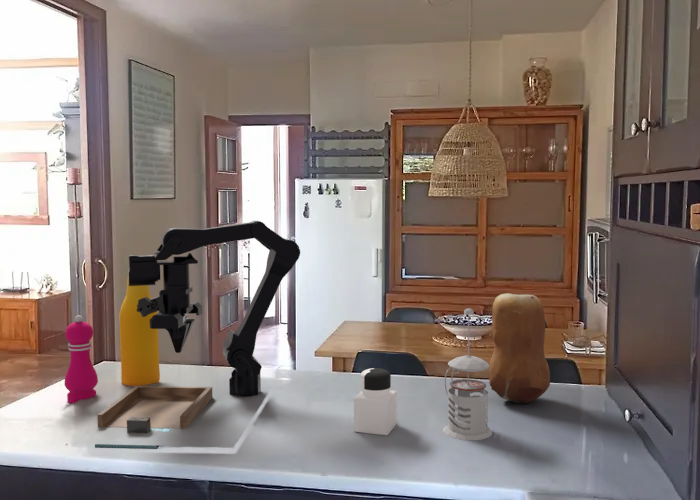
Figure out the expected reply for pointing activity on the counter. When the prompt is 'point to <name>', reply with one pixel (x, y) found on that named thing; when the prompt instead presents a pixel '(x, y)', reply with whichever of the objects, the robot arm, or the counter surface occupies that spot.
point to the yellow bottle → (138, 341)
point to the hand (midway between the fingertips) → (178, 352)
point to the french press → (467, 399)
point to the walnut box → (157, 406)
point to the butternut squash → (518, 348)
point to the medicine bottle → (375, 403)
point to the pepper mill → (80, 362)
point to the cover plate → (135, 427)
